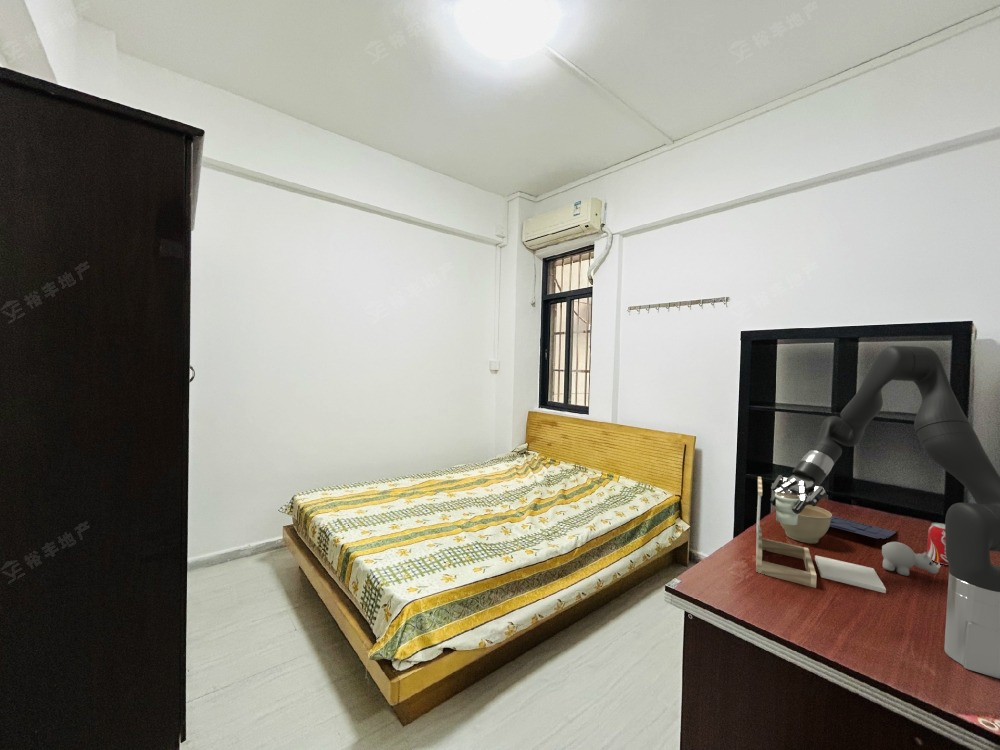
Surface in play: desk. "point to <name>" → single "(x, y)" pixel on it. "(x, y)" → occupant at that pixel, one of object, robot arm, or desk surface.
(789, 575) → the cold frame
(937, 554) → the soda can
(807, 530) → the planter bowl
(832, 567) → the concrete tile
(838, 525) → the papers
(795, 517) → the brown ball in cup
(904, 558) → the round bodied animal figurine
